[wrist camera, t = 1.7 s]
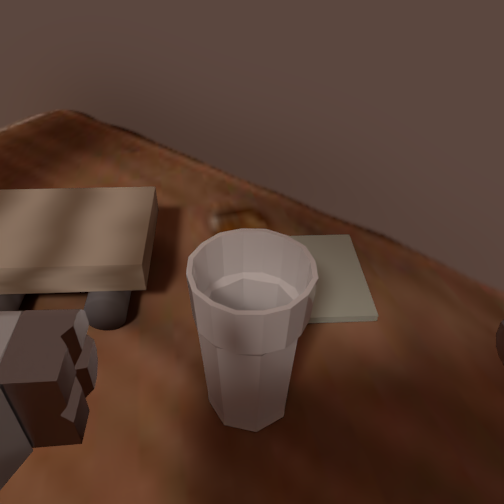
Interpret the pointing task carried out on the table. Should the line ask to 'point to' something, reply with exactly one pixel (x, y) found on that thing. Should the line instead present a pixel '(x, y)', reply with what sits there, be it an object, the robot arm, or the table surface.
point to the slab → (77, 246)
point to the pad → (338, 281)
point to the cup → (250, 320)
